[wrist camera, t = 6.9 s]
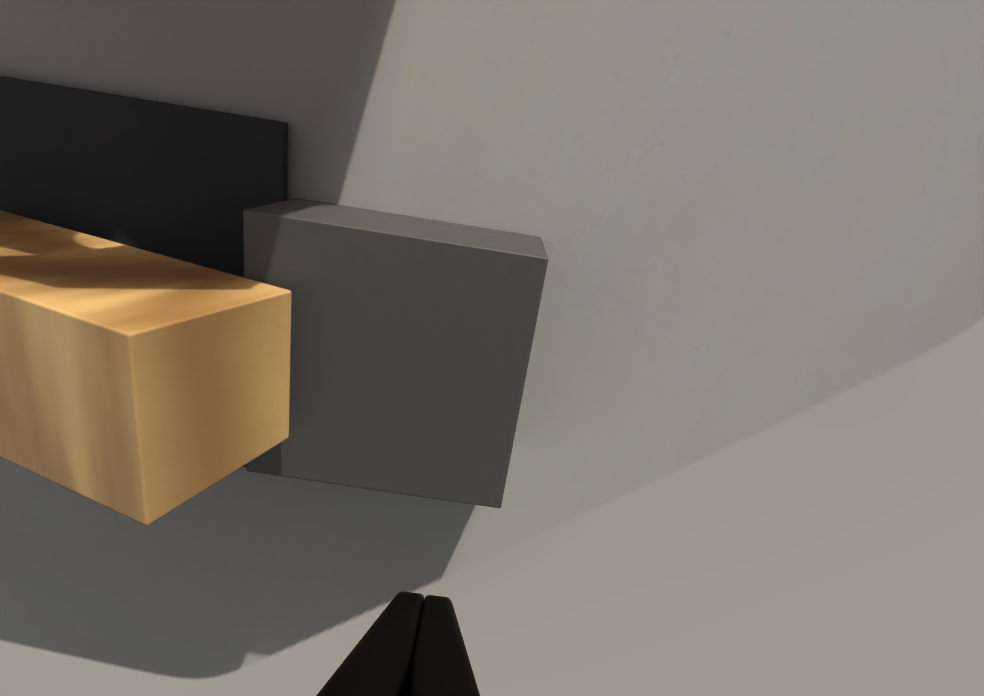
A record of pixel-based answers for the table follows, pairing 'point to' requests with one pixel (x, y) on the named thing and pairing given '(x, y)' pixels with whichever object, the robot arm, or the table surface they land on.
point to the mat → (138, 169)
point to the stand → (398, 346)
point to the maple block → (134, 368)
